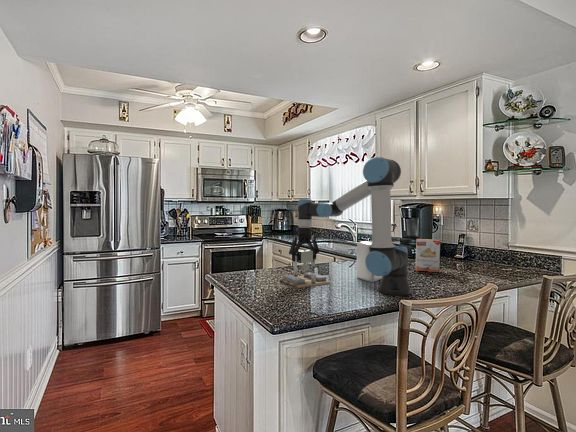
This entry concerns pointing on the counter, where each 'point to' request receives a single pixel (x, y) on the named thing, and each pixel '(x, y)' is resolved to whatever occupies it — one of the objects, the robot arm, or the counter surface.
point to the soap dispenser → (361, 266)
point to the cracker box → (427, 255)
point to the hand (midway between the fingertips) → (304, 266)
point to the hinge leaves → (312, 276)
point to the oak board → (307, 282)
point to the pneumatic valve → (305, 258)
